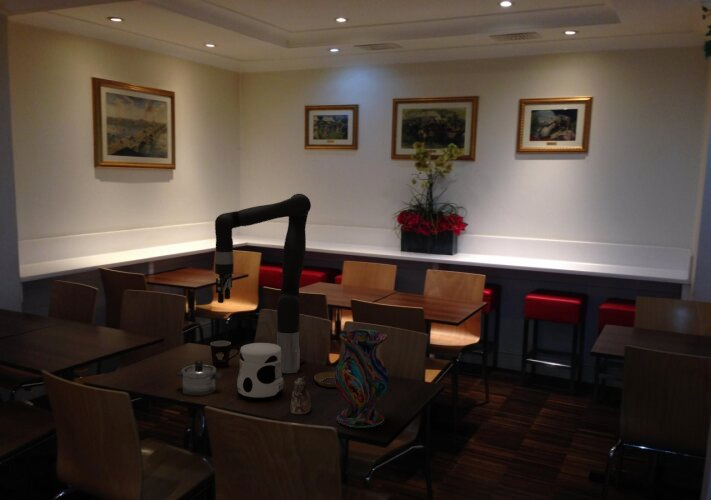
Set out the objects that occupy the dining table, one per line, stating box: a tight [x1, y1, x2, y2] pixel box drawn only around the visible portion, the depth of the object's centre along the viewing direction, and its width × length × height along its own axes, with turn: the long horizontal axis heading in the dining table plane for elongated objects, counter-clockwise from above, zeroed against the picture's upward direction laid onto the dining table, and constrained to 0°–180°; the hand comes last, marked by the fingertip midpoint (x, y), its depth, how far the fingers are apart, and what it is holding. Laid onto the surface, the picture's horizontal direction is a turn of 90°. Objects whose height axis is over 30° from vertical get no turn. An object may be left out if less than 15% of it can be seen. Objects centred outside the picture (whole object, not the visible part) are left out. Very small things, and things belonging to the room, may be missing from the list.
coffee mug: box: [210, 340, 241, 369], centre depth 266 cm, size 12×9×10 cm
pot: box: [175, 363, 223, 397], centre depth 236 cm, size 17×12×8 cm
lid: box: [187, 359, 211, 374], centre depth 236 cm, size 9×9×4 cm
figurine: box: [290, 375, 312, 415], centre depth 219 cm, size 7×7×12 cm
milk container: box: [236, 342, 284, 400], centre depth 233 cm, size 17×17×18 cm
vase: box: [335, 328, 390, 429], centre depth 211 cm, size 18×18×30 cm
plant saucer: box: [313, 371, 337, 388], centre depth 250 cm, size 15×15×3 cm
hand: (224, 300), depth 257 cm, fingers open, 8 cm apart
